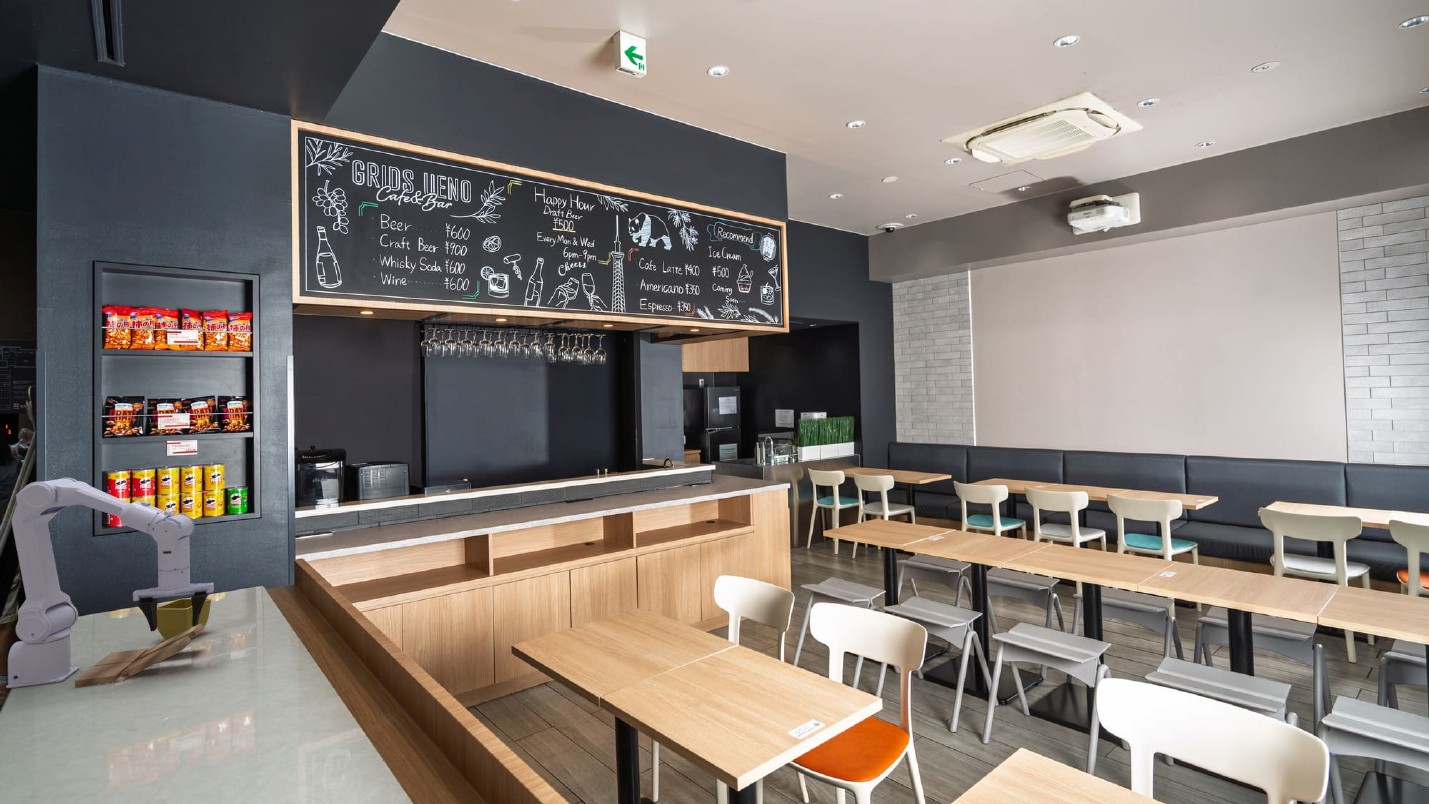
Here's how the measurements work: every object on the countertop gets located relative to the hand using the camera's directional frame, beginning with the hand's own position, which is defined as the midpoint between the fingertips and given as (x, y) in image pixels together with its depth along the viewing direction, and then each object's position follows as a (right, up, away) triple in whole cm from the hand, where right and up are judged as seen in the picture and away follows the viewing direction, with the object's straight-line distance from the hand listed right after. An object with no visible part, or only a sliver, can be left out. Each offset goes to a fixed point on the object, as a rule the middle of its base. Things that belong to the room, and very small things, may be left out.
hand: (174, 627), depth 156 cm
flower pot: (-14, -10, +21) cm, 27 cm away
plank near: (-2, -7, -2) cm, 7 cm away
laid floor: (-13, -10, -1) cm, 16 cm away
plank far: (-6, -7, +8) cm, 12 cm away
